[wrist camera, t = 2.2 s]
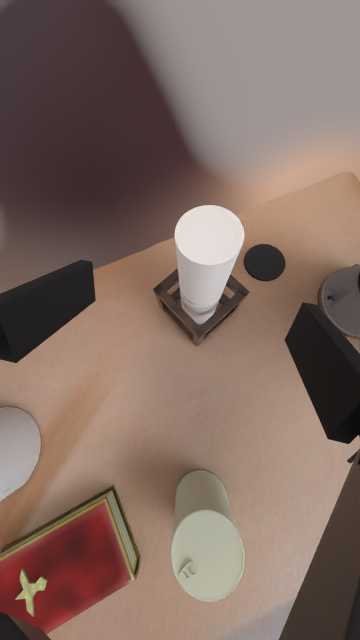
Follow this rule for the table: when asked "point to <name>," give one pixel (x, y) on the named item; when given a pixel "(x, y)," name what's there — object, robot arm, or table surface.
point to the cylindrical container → (206, 257)
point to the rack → (185, 320)
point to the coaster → (264, 262)
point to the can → (205, 539)
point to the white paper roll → (17, 449)
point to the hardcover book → (68, 563)
